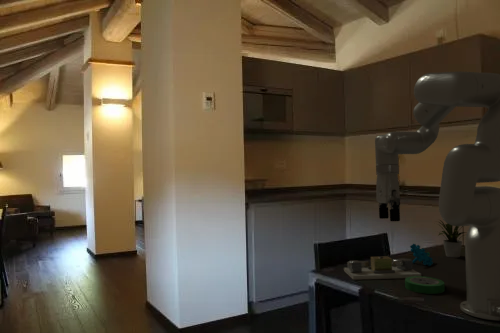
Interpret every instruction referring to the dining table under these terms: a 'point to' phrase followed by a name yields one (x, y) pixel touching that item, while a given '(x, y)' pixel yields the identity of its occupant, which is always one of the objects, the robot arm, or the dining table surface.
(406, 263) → the shaft right
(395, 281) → the dining table surface
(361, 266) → the shaft left
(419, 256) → the dark teal lobed piece
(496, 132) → the robot arm
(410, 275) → the mounting base plate
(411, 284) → the tape roll
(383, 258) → the tan box with knob
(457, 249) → the house plant
